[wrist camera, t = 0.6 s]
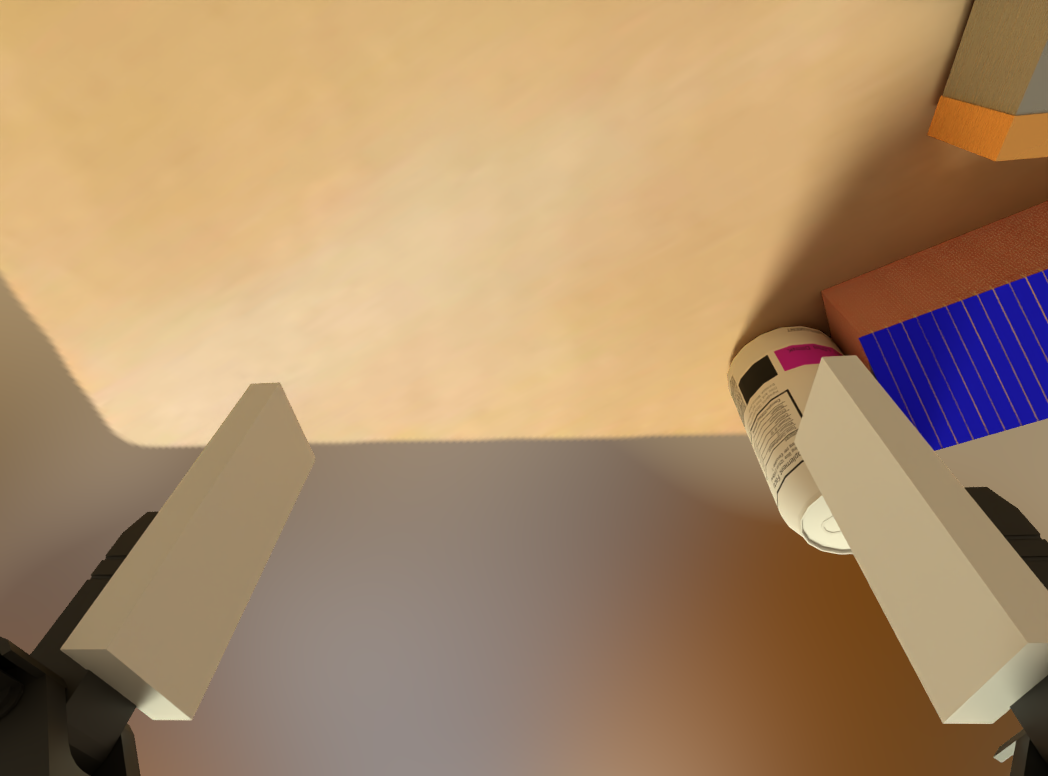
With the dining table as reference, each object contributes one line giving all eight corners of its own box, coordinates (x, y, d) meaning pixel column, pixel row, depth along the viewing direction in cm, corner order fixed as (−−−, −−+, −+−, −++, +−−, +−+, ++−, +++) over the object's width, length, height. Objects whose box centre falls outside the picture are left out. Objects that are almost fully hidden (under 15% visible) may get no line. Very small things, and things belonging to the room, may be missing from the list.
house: (814, 288, 38) (901, 387, 28) (1165, 148, 31) (1423, 215, 22) (842, 403, 44) (920, 514, 35) (1138, 305, 38) (1332, 409, 28)
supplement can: (811, 301, 38) (925, 445, 26) (848, 375, 42) (962, 530, 30) (707, 355, 41) (766, 504, 30) (750, 419, 45) (818, 574, 33)
